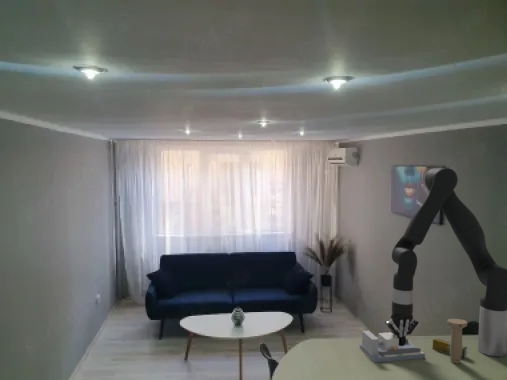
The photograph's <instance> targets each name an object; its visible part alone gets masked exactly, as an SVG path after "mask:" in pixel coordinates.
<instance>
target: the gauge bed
mask: <svg viewBox="0 0 507 380" xmlns="http://www.w3.org/2000/svg"><path fill="white" fill-rule="evenodd" d="M361 333H362V335H361V337H362V338H361V339H362V340H361V343H360V344H359V349H360V348H361V349H362V350H363V351H364V352H365V353H366V354H367V355H368V356H369V357H370V358H369V357H368V358H369V359H370V360H371V361H373V363H379V362H380V363H381V362H383V363H384V362H393V361H403V360H405V361H406V360H414V359H425V358H426V353H425V352H423V351H422V350H421V347H417V346H415V345H414V344H413V343H411V342H410V341H409V339H408V338H407V337H406V343H405V344H404V346H399V349H396V350H382V349H381V348H380V347H379V346H378V345H379V339H378V337H377V336H376V335H375V334H374V333H372V332H371V331H370V330H362V332H361ZM361 349H360V350H361ZM362 350H361V351H362ZM363 351H362V352H363ZM364 352H363V353H364ZM365 353H364V354H365ZM366 354H365V355H366ZM367 355H366V356H367Z"/></svg>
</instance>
